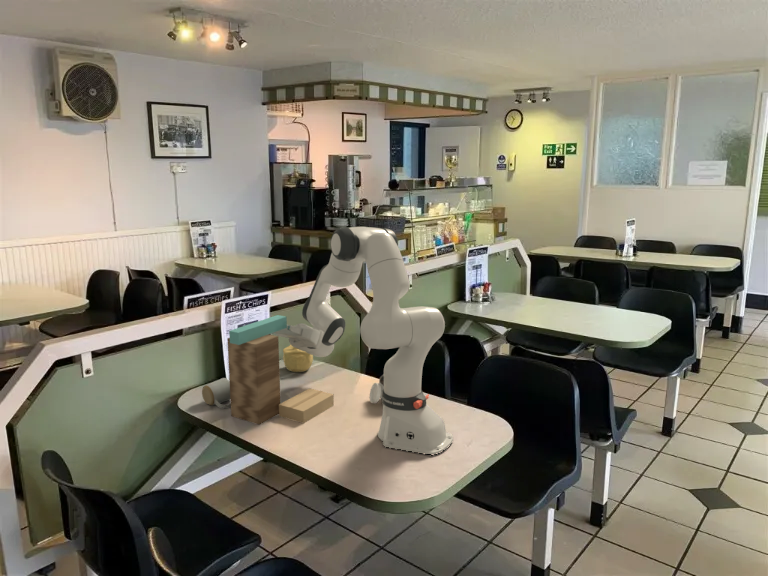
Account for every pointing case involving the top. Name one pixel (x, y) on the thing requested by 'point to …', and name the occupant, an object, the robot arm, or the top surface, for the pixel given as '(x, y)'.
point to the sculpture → (296, 359)
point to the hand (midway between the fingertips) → (278, 325)
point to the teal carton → (257, 329)
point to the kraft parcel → (306, 405)
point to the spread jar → (377, 390)
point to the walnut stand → (254, 379)
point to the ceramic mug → (217, 393)
